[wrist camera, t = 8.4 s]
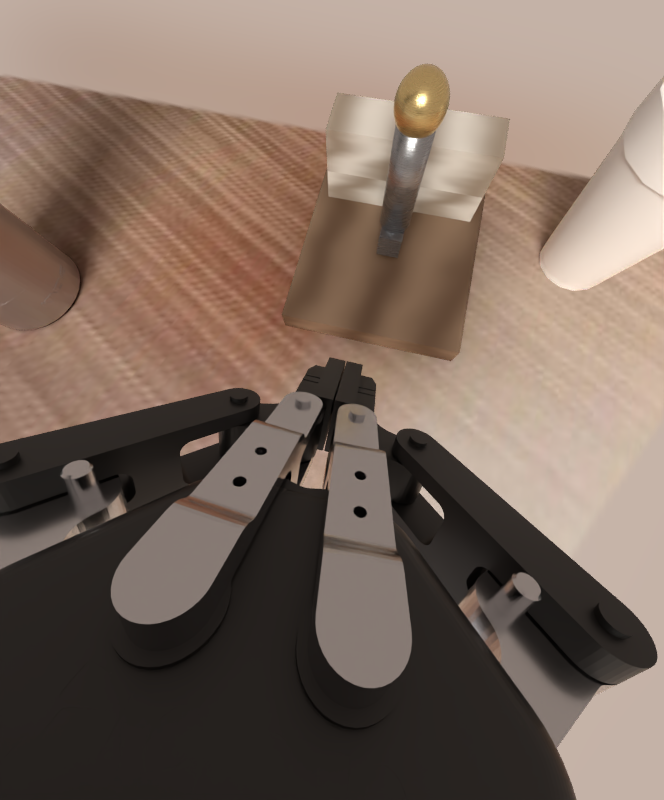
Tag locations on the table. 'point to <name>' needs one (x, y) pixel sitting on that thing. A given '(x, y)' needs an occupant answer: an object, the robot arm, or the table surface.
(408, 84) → the gold knob lever
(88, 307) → the table surface
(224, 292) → the table surface
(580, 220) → the foam cup
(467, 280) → the board
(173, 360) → the table surface
